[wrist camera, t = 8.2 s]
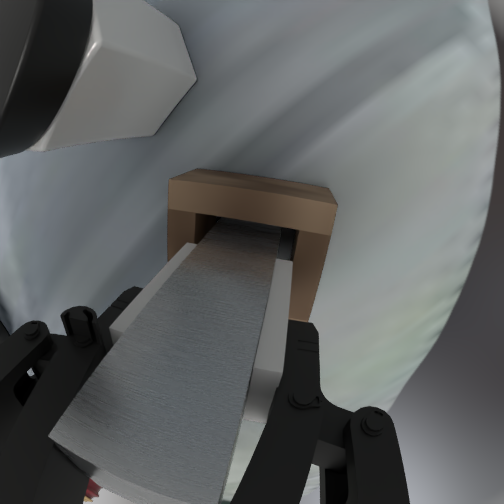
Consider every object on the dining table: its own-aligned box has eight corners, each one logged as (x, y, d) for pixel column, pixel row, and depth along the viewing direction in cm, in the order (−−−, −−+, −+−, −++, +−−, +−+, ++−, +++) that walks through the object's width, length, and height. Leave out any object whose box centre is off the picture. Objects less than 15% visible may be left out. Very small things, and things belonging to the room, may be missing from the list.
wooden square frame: (191, 281, 20) (169, 313, 16) (197, 168, 16) (168, 179, 13) (303, 302, 19) (302, 341, 15) (328, 188, 16) (337, 205, 12)
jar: (213, 23, 12) (95, -81, 2) (185, 142, 16) (18, 178, 5) (101, 30, 13) (-29, 4, 2) (81, 131, 16) (-59, 162, 6)
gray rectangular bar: (218, 268, 17) (98, 485, 5) (222, 215, 16) (47, 436, 3) (272, 278, 17) (214, 527, 4) (282, 225, 16) (215, 509, 3)
